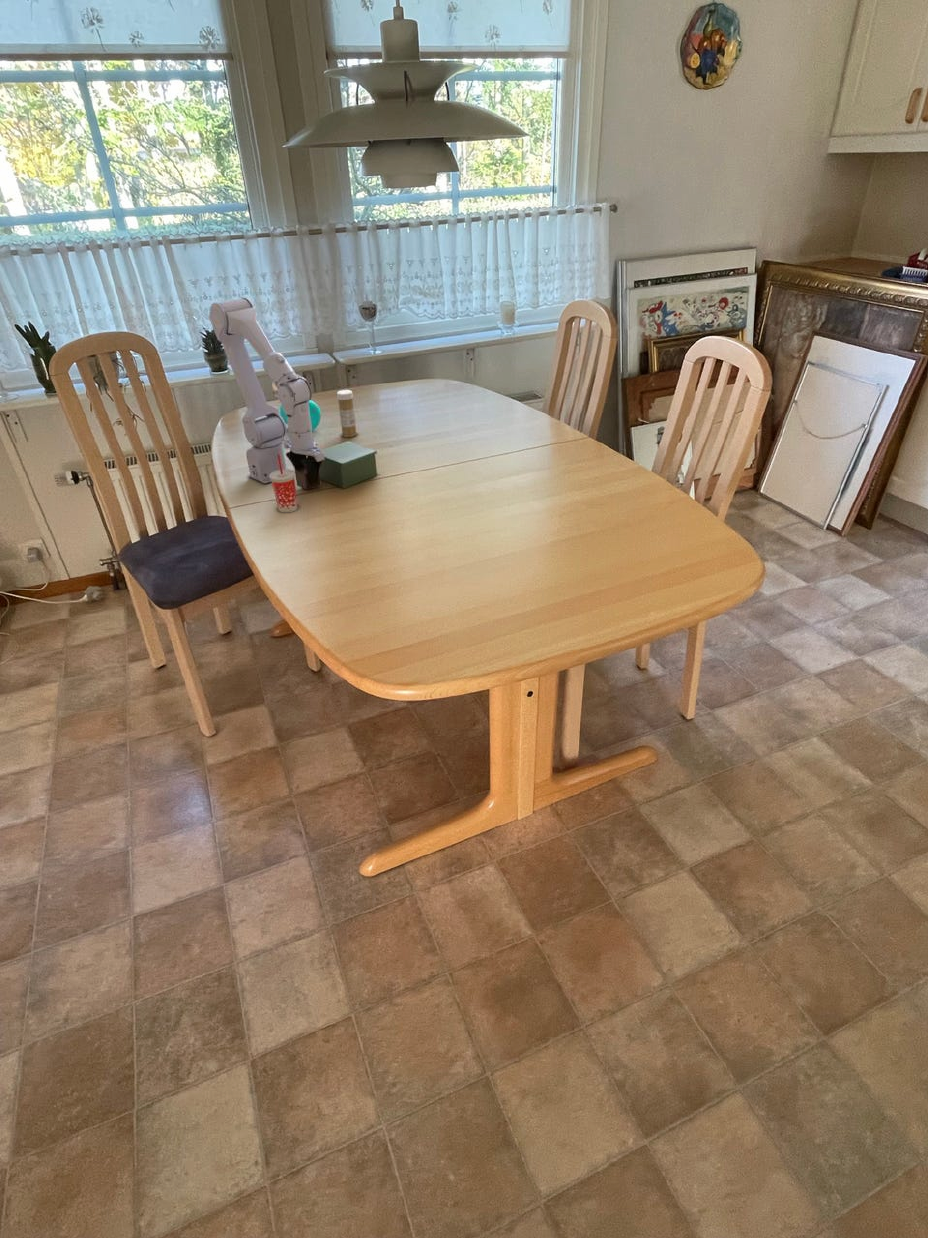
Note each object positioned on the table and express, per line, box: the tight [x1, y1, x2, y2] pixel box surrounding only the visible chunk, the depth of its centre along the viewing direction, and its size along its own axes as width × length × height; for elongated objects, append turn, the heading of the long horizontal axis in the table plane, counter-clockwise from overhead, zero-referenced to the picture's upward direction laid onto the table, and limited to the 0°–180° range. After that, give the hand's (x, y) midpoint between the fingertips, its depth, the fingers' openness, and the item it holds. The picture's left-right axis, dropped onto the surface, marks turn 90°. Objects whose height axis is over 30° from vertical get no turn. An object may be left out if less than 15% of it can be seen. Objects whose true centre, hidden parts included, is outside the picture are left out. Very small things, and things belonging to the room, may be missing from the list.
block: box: [294, 467, 321, 491], centre depth 181 cm, size 4×4×4 cm
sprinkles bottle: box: [336, 389, 358, 438], centre depth 211 cm, size 5×5×14 cm
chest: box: [319, 454, 378, 489], centre depth 187 cm, size 11×12×6 cm
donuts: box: [279, 399, 322, 432], centre depth 217 cm, size 10×10×10 cm
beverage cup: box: [269, 454, 298, 513], centre depth 169 cm, size 6×6×14 cm
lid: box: [320, 440, 378, 466], centre depth 185 cm, size 12×12×1 cm
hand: (308, 480), depth 181 cm, fingers closed on block, 4 cm apart
